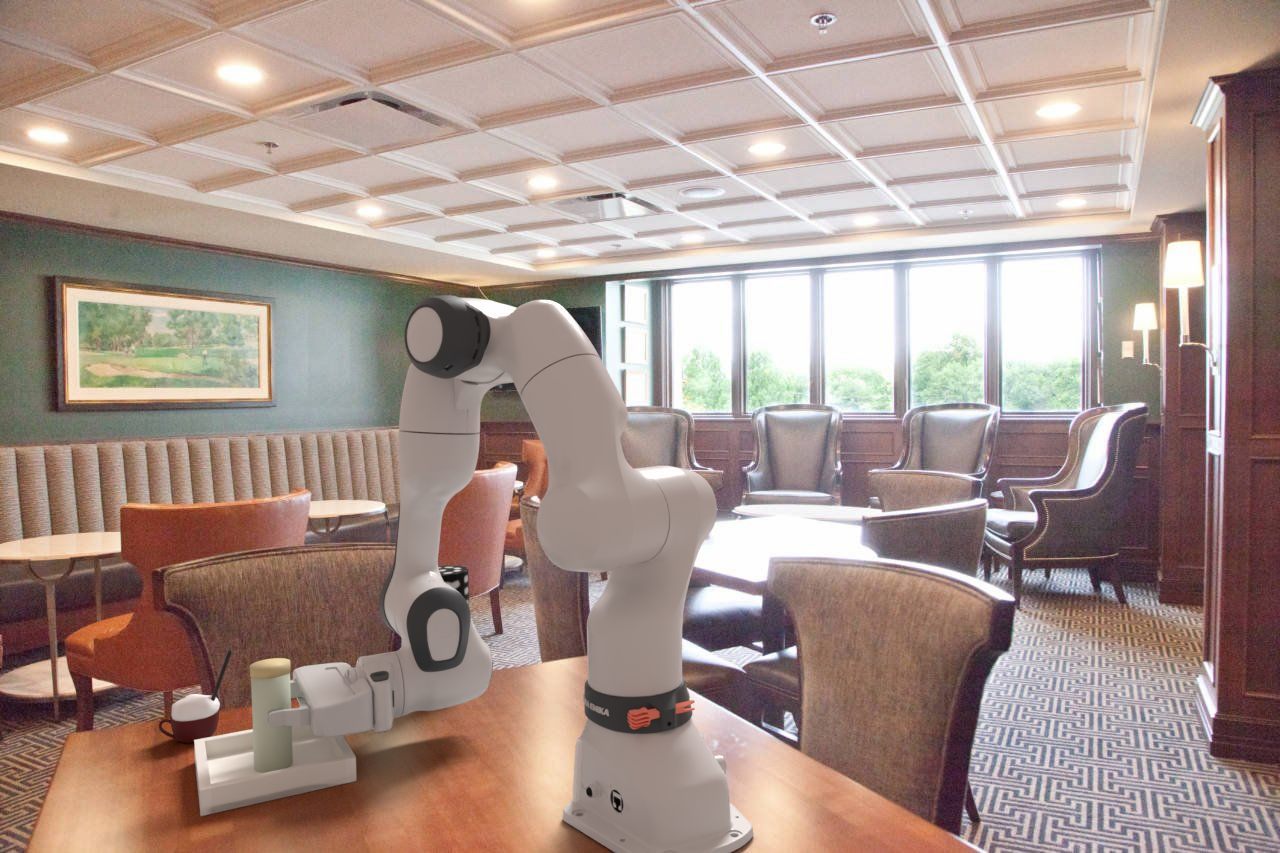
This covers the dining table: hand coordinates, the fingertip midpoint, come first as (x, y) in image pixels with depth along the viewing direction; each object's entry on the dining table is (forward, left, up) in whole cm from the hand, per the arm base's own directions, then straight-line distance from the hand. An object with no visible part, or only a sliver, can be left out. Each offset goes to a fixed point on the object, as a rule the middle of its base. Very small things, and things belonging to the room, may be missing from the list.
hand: (264, 707), depth 109 cm
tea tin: (0, -1, -8) cm, 8 cm away
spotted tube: (+18, -29, -9) cm, 35 cm away
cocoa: (+18, +7, -9) cm, 21 cm away
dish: (0, -1, -8) cm, 9 cm away
